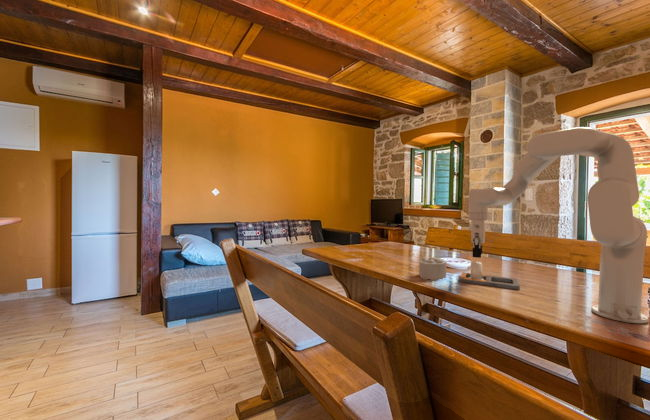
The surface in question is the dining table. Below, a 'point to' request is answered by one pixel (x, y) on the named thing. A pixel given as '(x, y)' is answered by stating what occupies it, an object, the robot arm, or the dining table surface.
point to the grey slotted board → (490, 283)
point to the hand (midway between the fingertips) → (477, 255)
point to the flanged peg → (476, 270)
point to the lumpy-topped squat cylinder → (432, 268)
